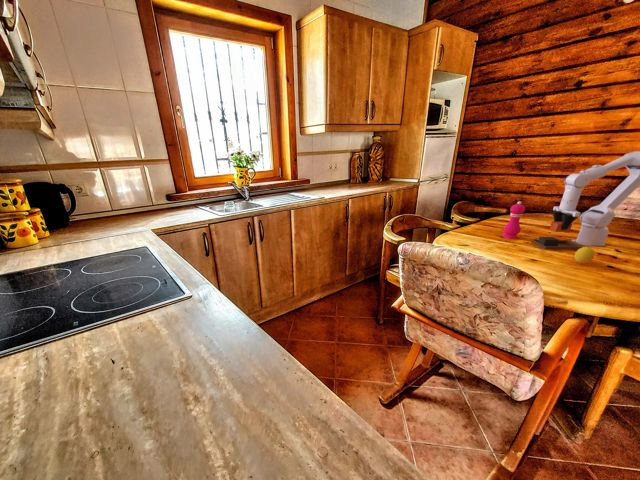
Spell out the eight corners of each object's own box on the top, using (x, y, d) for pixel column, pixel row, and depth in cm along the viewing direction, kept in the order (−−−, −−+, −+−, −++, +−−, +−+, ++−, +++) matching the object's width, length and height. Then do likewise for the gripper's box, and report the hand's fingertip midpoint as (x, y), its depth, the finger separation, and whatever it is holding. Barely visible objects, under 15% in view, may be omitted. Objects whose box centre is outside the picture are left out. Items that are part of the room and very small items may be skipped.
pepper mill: (518, 240, 146) (529, 202, 138) (501, 239, 150) (511, 202, 142) (517, 236, 152) (527, 200, 144) (501, 235, 156) (510, 199, 148)
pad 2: (563, 229, 139) (565, 221, 137) (569, 231, 134) (572, 223, 133) (549, 229, 140) (551, 221, 138) (555, 231, 136) (558, 223, 134)
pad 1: (550, 244, 138) (553, 236, 136) (556, 247, 134) (559, 239, 132) (536, 244, 139) (539, 236, 137) (542, 247, 135) (545, 239, 133)
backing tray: (565, 243, 139) (566, 239, 138) (581, 250, 130) (582, 246, 129) (531, 243, 142) (532, 239, 141) (544, 250, 133) (545, 246, 132)
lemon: (582, 261, 119) (589, 244, 116) (593, 267, 114) (601, 249, 111) (567, 262, 120) (574, 244, 117) (579, 267, 115) (586, 249, 112)
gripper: (549, 197, 138) (541, 223, 144) (571, 203, 125) (561, 232, 131) (566, 197, 137) (557, 223, 142) (589, 203, 124) (578, 232, 129)
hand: (560, 227), depth 137 cm, fingers closed on pad 2, 4 cm apart
